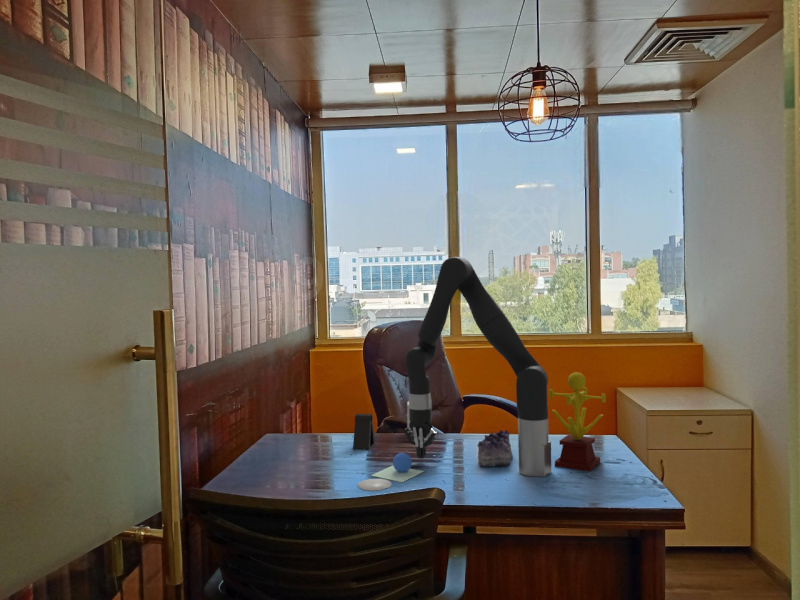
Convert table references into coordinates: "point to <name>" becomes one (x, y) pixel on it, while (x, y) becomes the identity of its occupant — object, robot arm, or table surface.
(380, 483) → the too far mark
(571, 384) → the trophy
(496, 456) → the geode
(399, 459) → the ball
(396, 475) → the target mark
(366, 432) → the phone stand
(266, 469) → the table surface
